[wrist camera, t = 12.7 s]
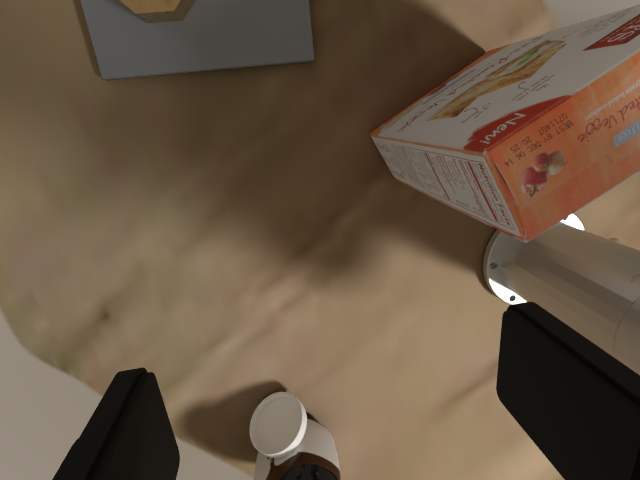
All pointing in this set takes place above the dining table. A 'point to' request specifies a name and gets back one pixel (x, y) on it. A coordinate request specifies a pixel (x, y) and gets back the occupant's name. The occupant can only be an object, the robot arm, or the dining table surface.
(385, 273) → the dining table surface
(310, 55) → the base
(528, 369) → the robot arm
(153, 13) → the ring
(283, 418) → the spread jar
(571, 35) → the cracker box
